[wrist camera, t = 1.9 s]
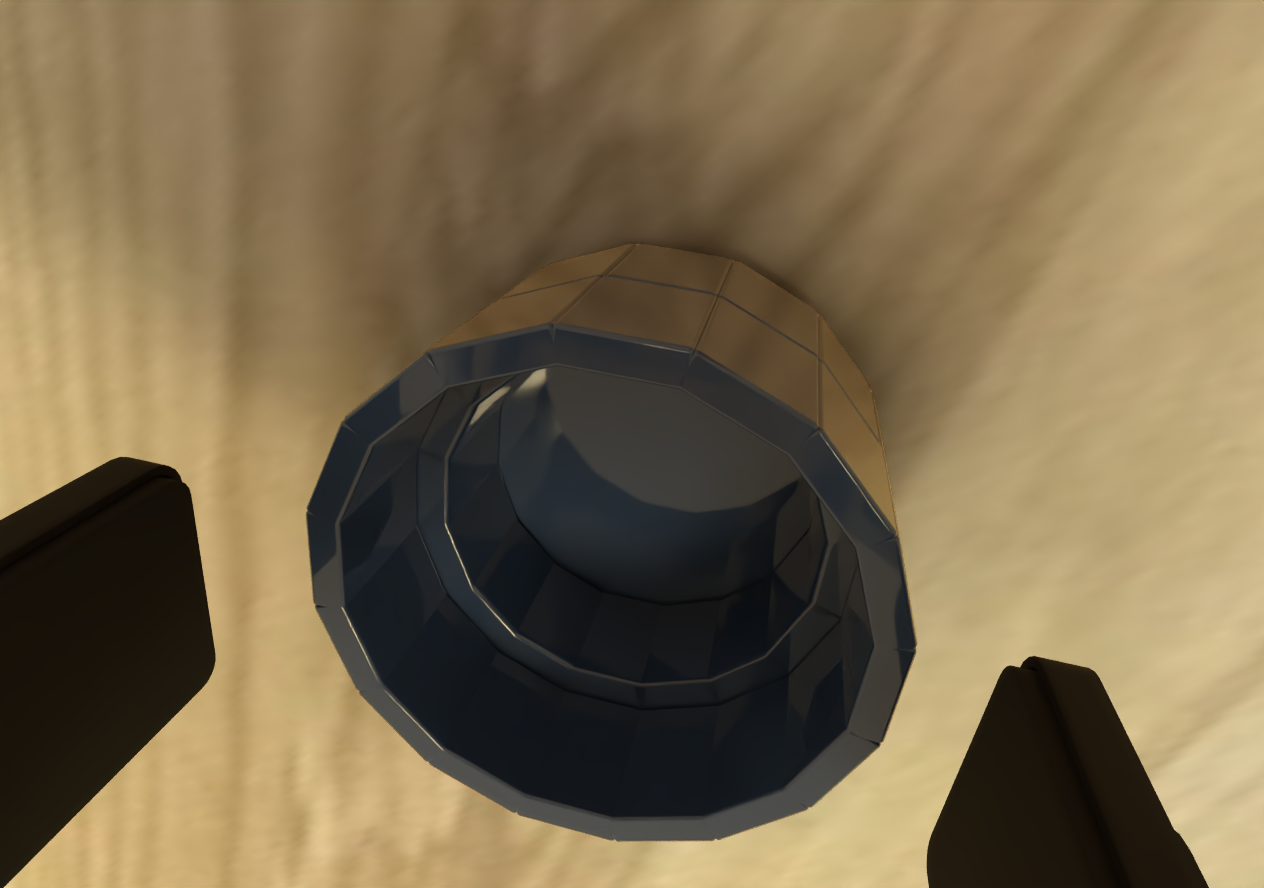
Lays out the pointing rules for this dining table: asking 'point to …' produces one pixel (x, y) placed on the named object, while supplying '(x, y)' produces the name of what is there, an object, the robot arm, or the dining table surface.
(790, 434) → the bowl
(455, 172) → the dining table surface
